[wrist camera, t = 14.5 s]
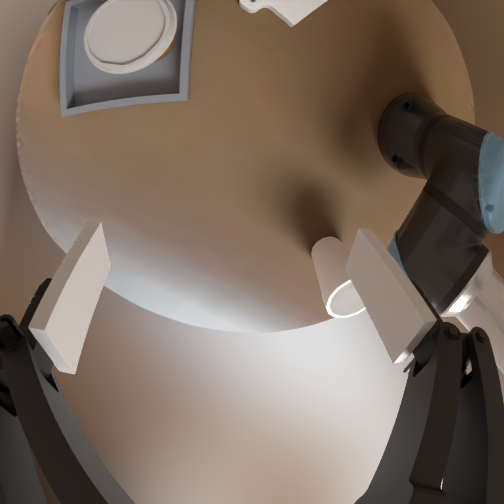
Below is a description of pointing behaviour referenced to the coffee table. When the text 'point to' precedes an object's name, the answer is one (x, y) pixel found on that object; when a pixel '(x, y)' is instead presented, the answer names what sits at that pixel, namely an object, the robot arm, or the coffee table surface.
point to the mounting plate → (284, 8)
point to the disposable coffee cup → (130, 34)
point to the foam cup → (335, 278)
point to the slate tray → (121, 85)
